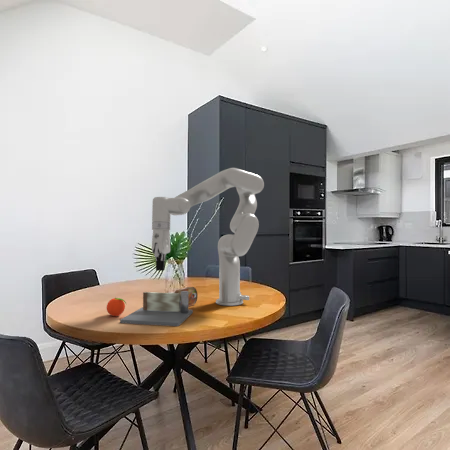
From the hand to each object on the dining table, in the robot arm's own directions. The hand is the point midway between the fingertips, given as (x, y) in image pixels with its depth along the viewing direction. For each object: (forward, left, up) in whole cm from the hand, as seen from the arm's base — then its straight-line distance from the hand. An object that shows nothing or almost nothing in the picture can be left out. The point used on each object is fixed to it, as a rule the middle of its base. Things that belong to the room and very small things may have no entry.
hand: (160, 270), depth 139 cm
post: (-12, +6, -17) cm, 22 cm away
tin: (-8, -8, -17) cm, 21 cm away
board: (-3, +10, -17) cm, 20 cm away
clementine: (+14, +11, -17) cm, 24 cm away
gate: (-3, +6, -15) cm, 17 cm away
